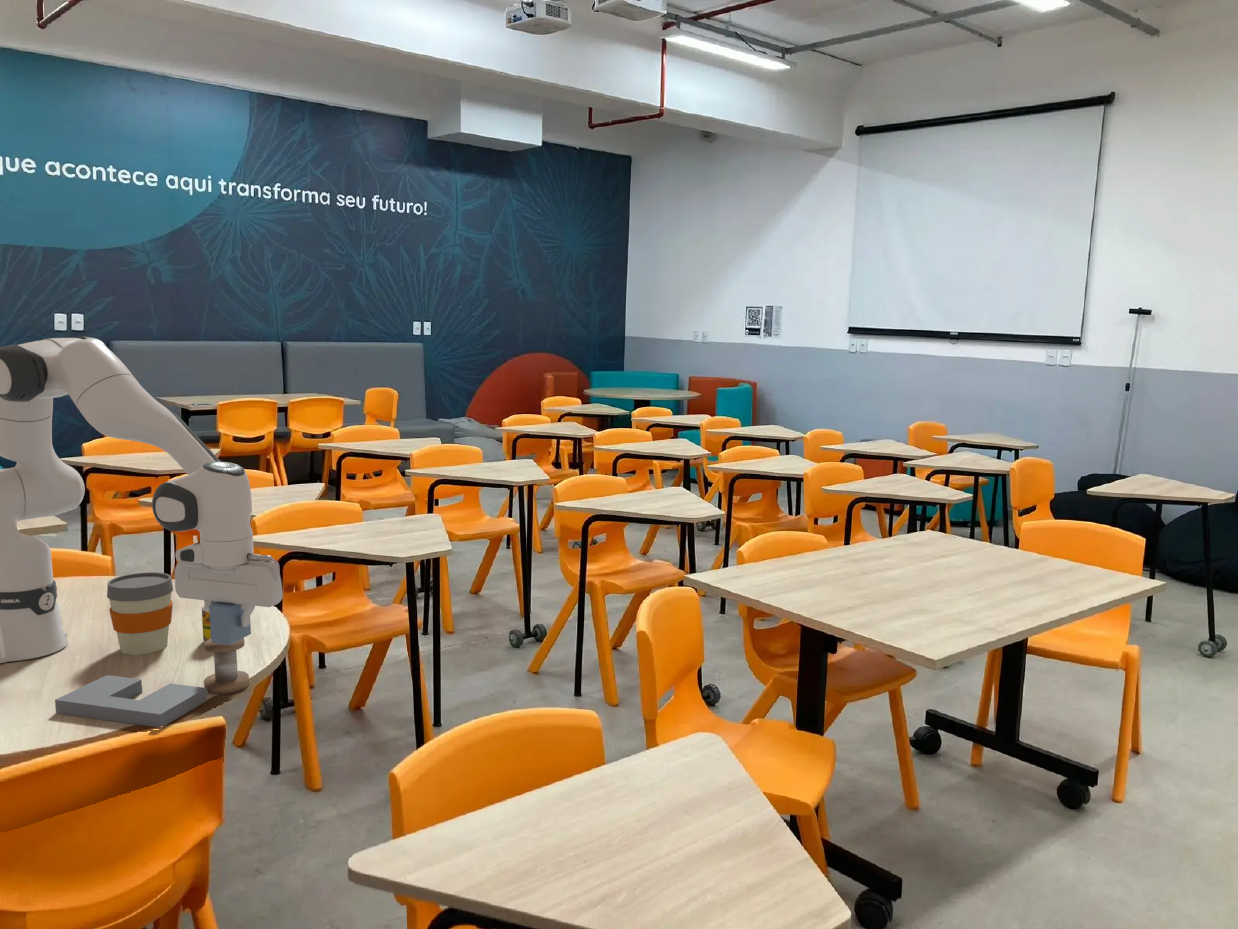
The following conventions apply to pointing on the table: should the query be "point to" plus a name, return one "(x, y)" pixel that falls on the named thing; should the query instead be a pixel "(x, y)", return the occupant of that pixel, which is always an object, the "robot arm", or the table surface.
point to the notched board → (130, 701)
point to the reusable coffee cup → (141, 611)
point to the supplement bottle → (206, 624)
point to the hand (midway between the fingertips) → (230, 624)
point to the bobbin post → (225, 669)
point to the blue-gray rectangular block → (226, 623)
